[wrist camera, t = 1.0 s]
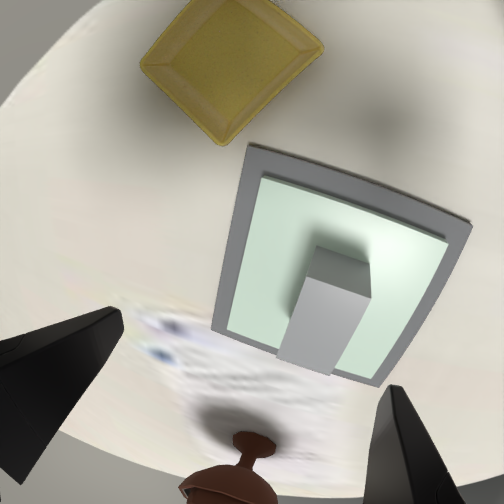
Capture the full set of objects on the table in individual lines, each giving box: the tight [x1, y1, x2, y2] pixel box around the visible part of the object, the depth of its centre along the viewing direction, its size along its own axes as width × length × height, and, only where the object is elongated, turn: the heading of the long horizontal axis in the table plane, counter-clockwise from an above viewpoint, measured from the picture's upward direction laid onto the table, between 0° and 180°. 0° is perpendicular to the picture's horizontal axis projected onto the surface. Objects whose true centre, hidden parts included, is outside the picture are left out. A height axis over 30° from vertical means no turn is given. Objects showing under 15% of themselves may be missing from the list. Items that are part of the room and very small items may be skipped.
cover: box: [227, 175, 449, 379], centre depth 19 cm, size 12×12×5 cm
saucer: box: [140, 0, 324, 146], centre depth 16 cm, size 9×9×2 cm
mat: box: [211, 145, 473, 388], centre depth 21 cm, size 15×15×1 cm
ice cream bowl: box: [178, 431, 278, 504], centre depth 26 cm, size 11×11×15 cm
